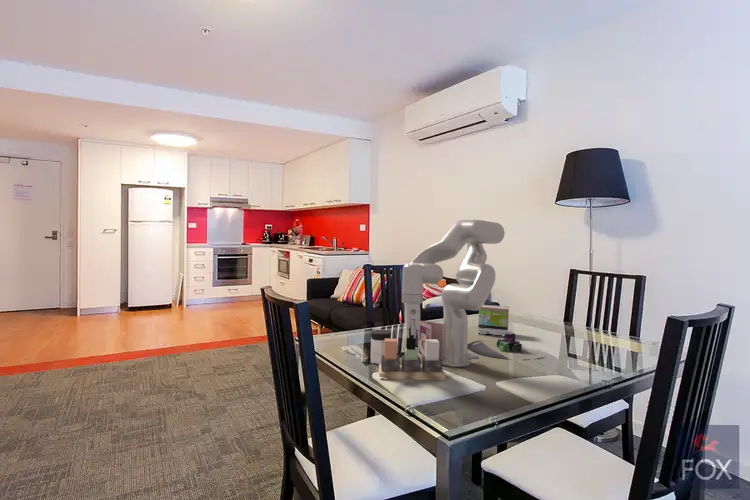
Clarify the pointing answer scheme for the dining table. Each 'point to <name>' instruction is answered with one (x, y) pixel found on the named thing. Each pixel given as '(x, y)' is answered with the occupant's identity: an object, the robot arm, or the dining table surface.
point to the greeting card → (430, 336)
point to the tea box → (493, 320)
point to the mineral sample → (503, 344)
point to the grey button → (431, 350)
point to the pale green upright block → (411, 354)
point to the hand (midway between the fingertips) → (410, 348)
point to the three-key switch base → (411, 369)
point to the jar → (378, 344)
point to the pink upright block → (390, 349)
